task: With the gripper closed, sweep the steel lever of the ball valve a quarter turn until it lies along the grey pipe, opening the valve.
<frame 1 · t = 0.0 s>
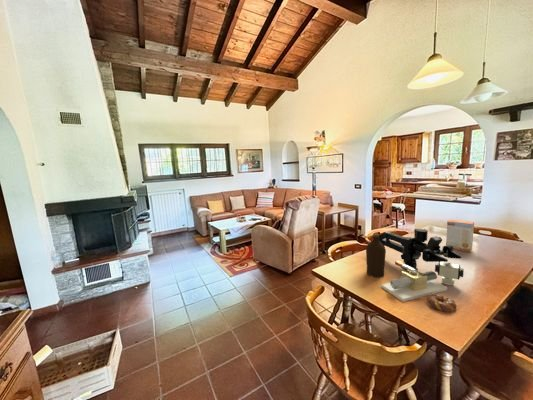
hand: (454, 259, 114), 17 cm above the table, tool horizontal, fingers open, 9 cm apart
pneumatic valve: (447, 284, 122), on the table
mount board: (413, 288, 120), on the table
valve body: (413, 279, 119), on the mount board, point 5 cm above the table
olive oil: (375, 274, 137), on the table
cracker box: (458, 249, 165), on the table
pretzel: (441, 306, 105), on the table
valve lever: (406, 267, 123), point 10 cm above the table, hinge at 0.0°
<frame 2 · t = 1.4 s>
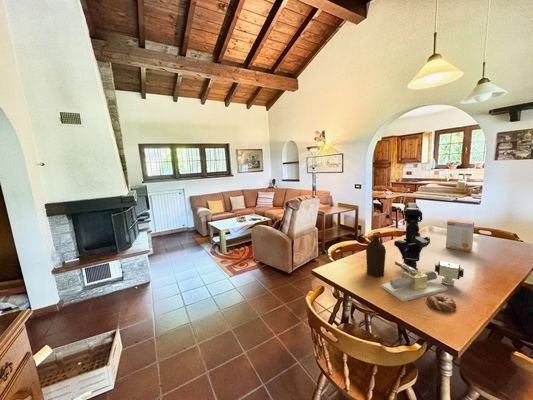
hand: (410, 257, 127), 13 cm above the table, tool pointing down, fingers open, 9 cm apart
nothing on the table moved.
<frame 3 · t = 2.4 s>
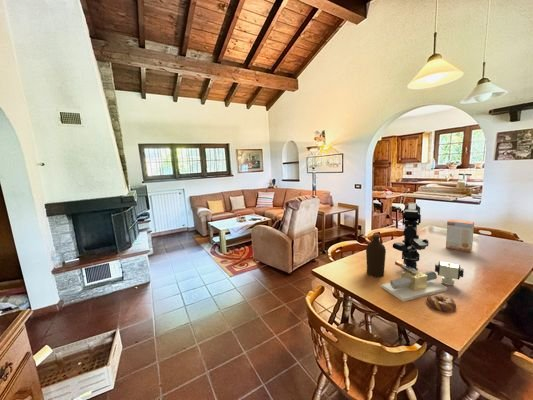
hand: (409, 258, 128), 12 cm above the table, tool pointing down, fingers closed
nothing on the table moved.
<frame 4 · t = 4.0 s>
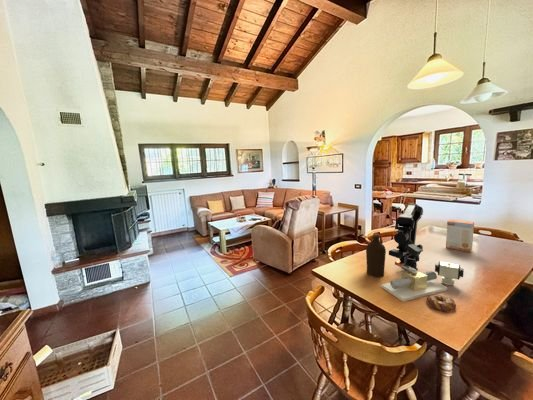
hand: (403, 264, 128), 9 cm above the table, tool pointing down, fingers closed
valve lever: (406, 267, 123), point 10 cm above the table, hinge at 0.7°, touching gripper
everything else where it was.
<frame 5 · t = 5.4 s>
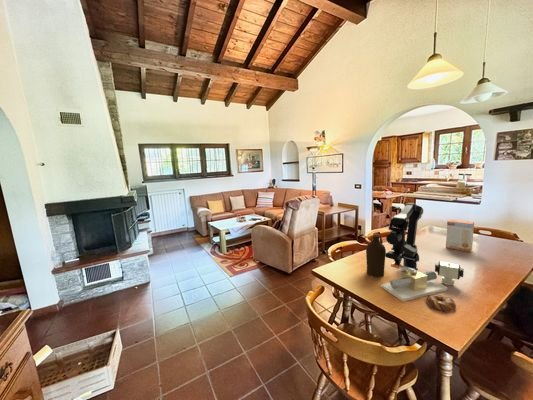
hand: (398, 265, 127), 9 cm above the table, tool pointing down, fingers closed
valve lever: (404, 268, 122), point 10 cm above the table, hinge at 22.3°, touching gripper
everything else where it was.
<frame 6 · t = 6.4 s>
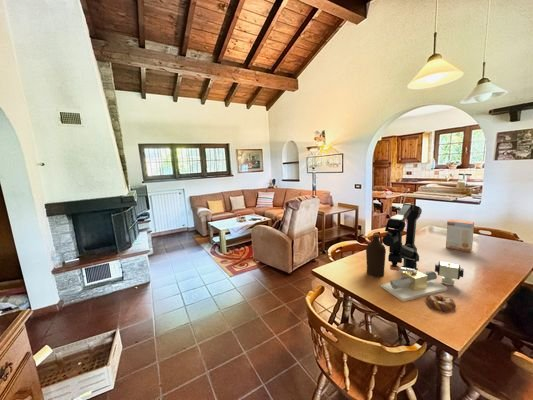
hand: (394, 267, 125), 9 cm above the table, tool pointing down, fingers closed
valve lever: (403, 269, 121), point 10 cm above the table, hinge at 43.3°, touching gripper
everything else where it was.
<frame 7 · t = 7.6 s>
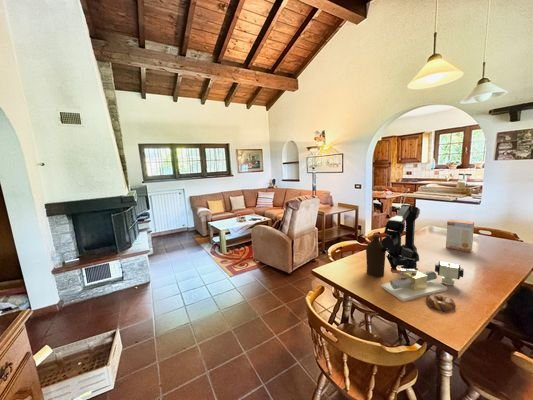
hand: (393, 270, 122), 9 cm above the table, tool pointing down, fingers closed
valve lever: (404, 271, 119), point 10 cm above the table, hinge at 65.8°, touching gripper
everything else where it was.
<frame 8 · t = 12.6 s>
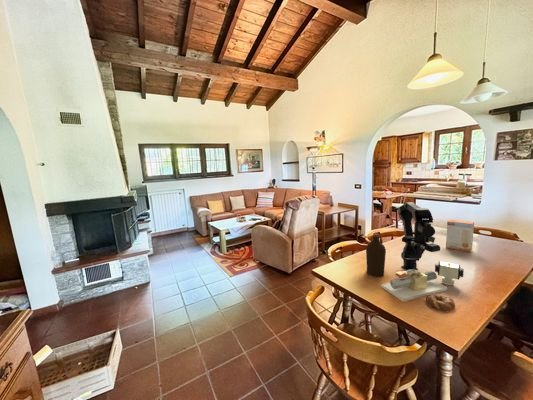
hand: (419, 257, 126), 13 cm above the table, tool pointing down, fingers closed
valve lever: (407, 273, 117), point 10 cm above the table, hinge at 92.3°
everything else where it was.
at the end: valve lever at +92° (first picture: +0°); pneumatic valve moved 0.2 cm from its start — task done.
